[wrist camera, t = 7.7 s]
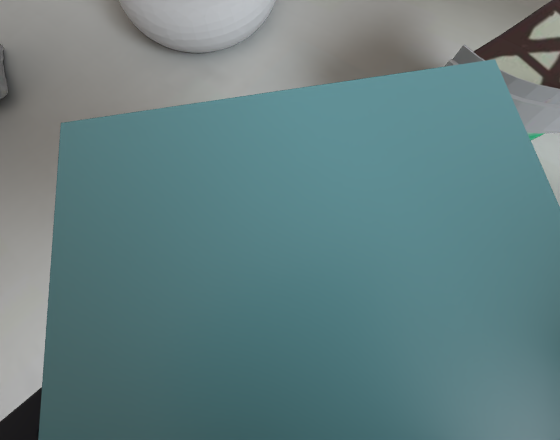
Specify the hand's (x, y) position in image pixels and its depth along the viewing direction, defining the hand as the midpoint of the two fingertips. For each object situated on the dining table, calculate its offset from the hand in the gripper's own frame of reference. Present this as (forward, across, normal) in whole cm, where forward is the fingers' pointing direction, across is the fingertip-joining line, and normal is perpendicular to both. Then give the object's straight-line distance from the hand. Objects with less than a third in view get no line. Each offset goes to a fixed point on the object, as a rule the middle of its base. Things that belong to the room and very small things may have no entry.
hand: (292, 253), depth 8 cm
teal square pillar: (+4, 0, +6) cm, 7 cm away
